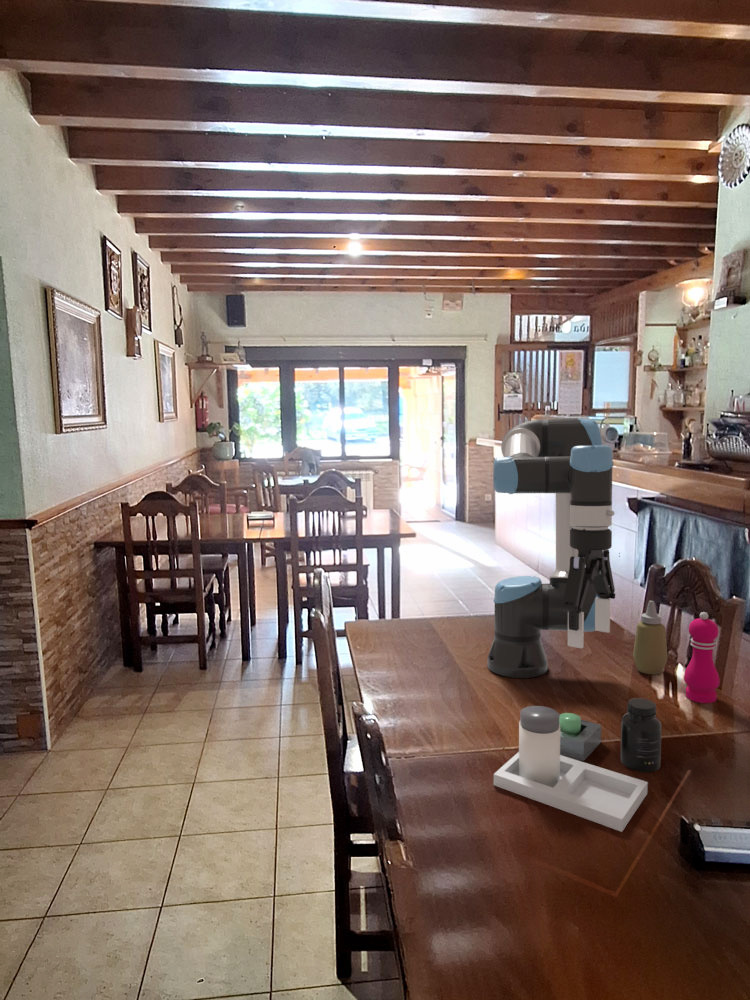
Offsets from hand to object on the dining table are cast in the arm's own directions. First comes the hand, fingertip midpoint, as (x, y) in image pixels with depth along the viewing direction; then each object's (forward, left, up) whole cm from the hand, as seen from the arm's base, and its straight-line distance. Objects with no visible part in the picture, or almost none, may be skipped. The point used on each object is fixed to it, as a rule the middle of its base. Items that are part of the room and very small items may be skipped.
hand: (589, 638), depth 125 cm
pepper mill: (+12, +37, -22) cm, 45 cm away
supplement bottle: (+10, -1, -22) cm, 24 cm away
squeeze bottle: (-2, +47, -22) cm, 52 cm away
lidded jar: (-2, -17, -21) cm, 27 cm away
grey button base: (-3, -2, -22) cm, 22 cm away
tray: (+3, -17, -22) cm, 28 cm away
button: (-3, -2, -19) cm, 19 cm away
